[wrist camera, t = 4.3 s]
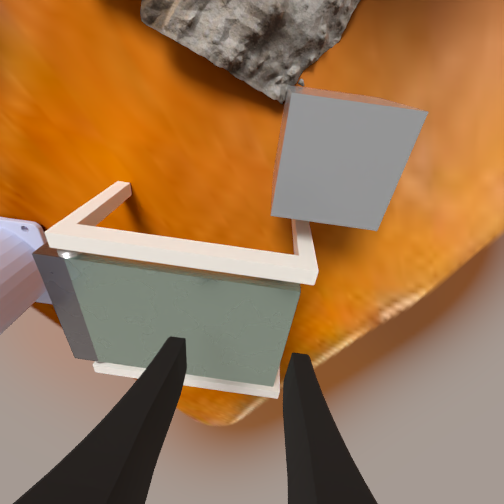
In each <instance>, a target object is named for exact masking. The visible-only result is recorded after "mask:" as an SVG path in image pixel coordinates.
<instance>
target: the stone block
mask: <svg viewBox="0 0 504 504" xmlns="http://www.w3.org/2000/svg"><path fill="white" fill-rule="evenodd" d="M427 114H428V112H427V111H424V110H420V109H417V108H413V107H410V106H406V105H403V104H399V103H396V102H392V101H389V100H386V99H382V98H378V97H371V96H364V95H357V94H350V93H342V92H335V91H328V90H321V89H314V88H307V87H300V86H292V85H288V87H287V93H286V98H285V104H284V111H283V117H282V123H281V129H280V135H279V142H278V148H277V154H276V160H275V166H274V172H273V185H272V202H271V216H276V217H283V218H290V219H297V220H304V221H311V222H318V223H325V224H332V225H339V226H346V227H353V228H360V229H367V230H374V231H377V230H378V228H379V225H380V223H381V221H382V219H383V216H384V214H385V212H386V209H387V207H388V205H389V202H390V200H391V198H392V195H393V193H394V191H395V188H396V186H397V184H398V181H399V179H400V177H401V174H402V172H403V170H404V167H405V165H406V163H407V160H408V158H409V156H410V153H411V151H412V149H413V147H414V144H415V142H416V140H417V137H418V135H419V133H420V130H421V128H422V126H423V123H424V121H425V119H426V116H427Z"/></svg>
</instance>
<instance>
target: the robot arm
mask: <svg viewBox="0 0 504 504" xmlns="http://www.w3.org/2000/svg"><path fill="white" fill-rule="evenodd" d="M46 242H47V240H46V237H45V234H44V231H43V229H42V227H41V226H40V225H39V224H38V223H36V222H32V221H25V220H18V219H11V218H4V217H0V334H2V333H3V332H4V331H5V330H6V329H7V328H8V327H9V326H10V325H11V324H12V323H13V322H14V321H15V320H16V319H17V318H18V317H19V316H20V315H22V313H24V312H25V311H26V310H27V309H28V308H29V307H30V306H31V305H32V304H33V303H34V302H40V303H47V304H52V301H51V299H50V297H49V294H48V292H47V289H46V287H45V285H44V282H43V280H42V277H41V275H40V272H39V270H38V268H37V265H36V263H35V260H34V258H33V256H32V253H33V252H34V251H35V250H37V249H38V248H39V247H41V246H42V245H44V244H45V243H46ZM186 371H187V357H186V338H179V337H172V336H170V337H168V338H167V340H166V341H165V343H164V344H163V346H162V347H161V349H160V350H159V352H158V353H157V355H156V356H155V357H154V359H153V360H152V361H151V363H150V364H149V365H148V367H147V368H146V369H145V371H144V372H143V373H142V374H141V376H140V377H139V378H138V379H137V381H136V382H135V383H134V384H133V386H132V387H131V388H130V389H129V390H128V392H127V393H126V394H125V395H124V396H123V397H122V399H121V400H120V401H119V402H118V403H117V404H116V405H115V406H114V408H113V409H112V410H111V411H110V412H109V413H108V414H107V415H106V416H105V418H104V419H103V420H102V421H101V422H100V423H99V424H98V425H97V426H96V427H95V428H94V429H93V430H92V431H91V432H90V433H89V434H88V435H87V437H85V438H84V440H82V441H81V442H80V443H79V444H78V445H77V446H76V447H75V448H74V449H73V450H72V451H71V452H70V453H69V454H68V455H67V456H66V457H65V458H64V459H63V460H62V461H61V462H60V463H58V464H57V465H56V466H55V467H54V468H53V469H52V470H51V471H50V472H49V473H48V474H46V475H45V476H44V477H43V478H42V479H41V480H40V481H39V482H37V483H36V484H35V485H34V486H33V487H32V488H30V489H29V490H28V491H27V492H26V493H25V494H24V495H22V496H21V497H20V498H19V499H18V500H17V501H16V502H14V503H13V504H145V501H146V498H147V494H148V490H149V487H150V483H151V479H152V475H153V472H154V468H155V466H156V463H157V459H158V456H159V453H160V450H161V448H162V445H163V442H164V440H165V437H166V434H167V431H168V429H169V426H170V423H171V420H172V417H173V414H174V411H175V409H176V406H177V403H178V400H179V398H180V395H181V391H182V387H183V383H184V379H185V375H186ZM283 418H284V433H285V447H286V461H287V473H288V474H287V476H288V504H377V502H376V500H375V498H374V497H373V495H372V493H371V491H370V490H369V488H368V486H367V485H366V483H365V481H364V479H363V477H362V476H361V474H360V472H359V470H358V468H357V466H356V465H355V463H354V461H353V459H352V457H351V455H350V453H349V451H348V449H347V447H346V445H345V443H344V441H343V439H342V437H341V435H340V433H339V431H338V428H337V426H336V424H335V422H334V420H333V417H332V415H331V413H330V411H329V408H328V406H327V403H326V401H325V399H324V396H323V394H322V391H321V389H320V386H319V383H318V381H317V378H316V375H315V372H314V369H313V366H312V363H311V360H310V357H309V356H308V355H307V354H299V353H292V355H291V359H290V362H289V365H288V369H287V372H286V375H285V379H284V385H283Z"/></svg>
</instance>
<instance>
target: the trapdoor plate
mask: <svg viewBox="0 0 504 504" xmlns="http://www.w3.org/2000/svg"><path fill="white" fill-rule="evenodd" d="M32 256H33V258H34V260H35V263H36V265H37V268H38V270H39V272H40V275H41V277H42V280H43V282H44V285H45V287H46V289H47V292H48V294H49V297H50V299H51V301H52V304H53V306H54V309H55V311H56V314H57V316H58V318H59V321H60V323H61V326H62V328H63V330H64V333H65V335H66V338H67V340H68V342H69V345H70V347H71V350H72V352H73V355H74V357H75V358H78V359H85V360H92V361H96V362H97V363H105V362H106V363H113V364H119V365H126V366H133V367H140V368H147V367H148V365H149V364H150V363H151V361H152V360H153V359H154V357H155V356H156V355H157V353H158V352H159V350H160V349H161V347H162V346H163V344H164V343H165V341H166V340H167V338H168V337H170V336H172V337H179V338H186V357H187V371H186V374H188V375H195V376H202V377H209V378H216V379H223V380H230V381H236V382H243V383H250V384H257V385H264V386H271V387H273V386H274V382H275V379H276V375H277V372H278V368H279V365H280V362H281V358H282V355H283V351H284V348H285V344H286V341H287V337H288V334H289V331H290V327H291V324H292V320H293V317H294V313H295V310H296V306H297V303H298V300H299V296H300V293H301V290H300V283H295V282H288V281H281V280H274V279H267V278H260V277H253V276H246V275H239V274H232V273H225V272H218V271H211V270H204V269H197V268H190V267H183V266H176V265H169V264H162V263H155V262H148V261H141V260H134V259H127V258H120V257H113V256H106V255H99V254H92V253H85V252H78V251H71V250H64V249H57V248H50V247H49V244H48V242H46V243H45V244H44V245H42V246H41V247H39V248H38V249H37V250H35V251H34V252H33V253H32Z"/></svg>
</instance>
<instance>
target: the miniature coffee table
mask: <svg viewBox="0 0 504 504" xmlns="http://www.w3.org/2000/svg"><path fill="white" fill-rule="evenodd" d="M131 195H132V192H131V185H130V183H128V182H121V181H117V182H116V183H114V184H113V185H111V186H110V187H108V188H107V189H106V190H104V191H103V192H101V193H100V194H98V195H97V196H96V197H94V198H93V199H91V200H90V201H88V202H87V203H85V204H84V205H83V206H81V207H80V208H78V209H77V210H75V211H74V212H72V213H71V214H70V215H68V216H67V217H65V218H64V219H62V220H61V221H59V222H58V223H57V224H55V225H54V226H52V227H51V228H49V229H48V230H47V231H45V232H44V233H45V236H46V239H47V241H48V244H49V247H50V248H57V249H64V250H71V251H78V252H85V253H92V254H99V255H106V256H113V257H120V258H127V259H134V260H141V261H148V262H155V263H162V264H169V265H176V266H183V267H190V268H197V269H204V270H211V271H218V272H225V273H232V274H239V275H246V276H253V277H260V278H267V279H274V280H281V281H288V282H295V283H302V284H309V285H314V284H315V281H316V278H317V275H318V272H319V271H318V265H317V260H316V255H315V250H314V245H313V239H312V234H311V229H310V224H309V221H304V220H297V219H291V220H292V233H293V245H294V255H291V254H284V253H277V252H270V251H263V250H256V249H249V248H242V247H235V246H228V245H221V244H214V243H207V242H200V241H193V240H186V239H179V238H172V237H165V236H158V235H151V234H144V233H137V232H130V231H123V230H116V229H109V228H102V227H95V226H96V225H97V224H98V223H99V222H101V221H102V220H103V219H104V218H105V217H106V216H108V215H109V214H110V213H111V212H112V211H113V210H115V209H116V208H117V207H118V206H119V205H121V204H122V203H123V202H124V201H125V200H126V199H128V198H129V197H130V196H131ZM93 368H94V371H95V372H97V373H104V374H111V375H118V376H124V377H131V378H139V377H140V376H141V374H142V373H143V372H144V371H145V369H146V368H140V367H133V366H126V365H119V364H113V363H106V362H105V363H97V362H96V361H95V362H94V363H93ZM183 385H186V386H193V387H200V388H207V389H214V390H220V391H227V392H234V393H241V394H248V395H255V396H262V397H269V398H275V399H278V396H279V393H280V365H279V368H278V372H277V375H276V379H275V382H274V386H273V387H271V386H264V385H257V384H250V383H243V382H236V381H230V380H223V379H216V378H209V377H202V376H195V375H188V374H186V375H185V379H184V383H183Z"/></svg>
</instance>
